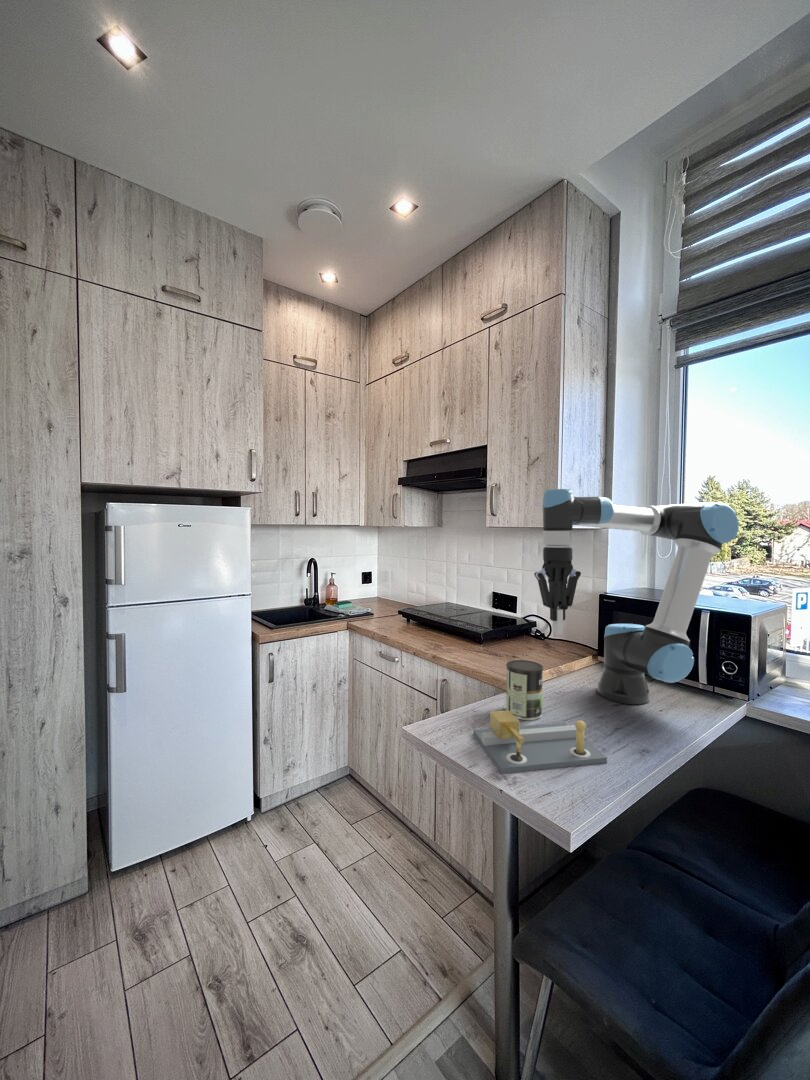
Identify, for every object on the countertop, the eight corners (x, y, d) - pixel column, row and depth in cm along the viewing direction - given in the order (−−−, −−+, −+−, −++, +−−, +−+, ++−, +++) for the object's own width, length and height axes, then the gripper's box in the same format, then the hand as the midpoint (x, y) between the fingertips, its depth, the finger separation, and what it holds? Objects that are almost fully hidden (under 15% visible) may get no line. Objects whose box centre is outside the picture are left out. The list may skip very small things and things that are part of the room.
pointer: (508, 731, 110) (508, 710, 110) (531, 757, 97) (532, 733, 97) (490, 733, 109) (490, 711, 109) (511, 759, 97) (511, 735, 96)
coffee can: (540, 707, 130) (541, 660, 129) (544, 722, 120) (545, 672, 119) (505, 704, 132) (505, 658, 131) (506, 718, 122) (506, 669, 121)
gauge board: (564, 726, 117) (565, 694, 117) (607, 762, 99) (608, 725, 99) (473, 734, 112) (473, 701, 112) (501, 773, 95) (501, 734, 94)
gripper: (571, 545, 122) (571, 627, 123) (528, 546, 119) (529, 630, 120) (587, 546, 115) (587, 634, 116) (543, 547, 112) (543, 637, 113)
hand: (557, 632), depth 118 cm, fingers closed
